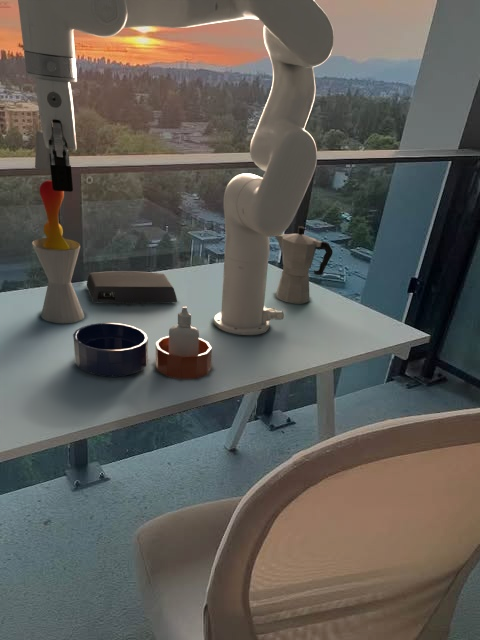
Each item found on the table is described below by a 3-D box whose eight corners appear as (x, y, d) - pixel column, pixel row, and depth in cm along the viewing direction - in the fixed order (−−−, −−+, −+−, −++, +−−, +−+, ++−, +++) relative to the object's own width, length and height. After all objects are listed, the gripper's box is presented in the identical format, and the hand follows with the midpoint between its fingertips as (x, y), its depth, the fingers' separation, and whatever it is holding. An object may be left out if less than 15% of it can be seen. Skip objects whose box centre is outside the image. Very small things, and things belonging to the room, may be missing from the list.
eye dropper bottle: (176, 359, 122) (177, 300, 116) (201, 367, 121) (203, 307, 115) (164, 367, 119) (164, 306, 112) (190, 375, 118) (192, 314, 111)
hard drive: (86, 286, 149) (84, 269, 147) (166, 286, 157) (166, 270, 154) (92, 305, 140) (91, 287, 137) (178, 305, 147) (178, 288, 145)
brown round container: (203, 355, 126) (204, 334, 123) (215, 378, 118) (216, 356, 116) (152, 356, 122) (152, 335, 120) (161, 380, 114) (161, 357, 112)
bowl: (142, 348, 124) (141, 322, 121) (152, 377, 115) (152, 350, 112) (73, 350, 120) (71, 323, 117) (78, 380, 110) (75, 351, 107)
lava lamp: (90, 321, 132) (78, 137, 112) (46, 325, 127) (25, 133, 108) (78, 306, 138) (64, 129, 118) (35, 309, 133) (13, 125, 114)
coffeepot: (263, 296, 160) (269, 224, 150) (275, 287, 168) (282, 218, 158) (319, 310, 158) (329, 237, 147) (329, 300, 165) (340, 230, 155)
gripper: (78, 75, 93) (87, 197, 103) (73, 67, 106) (82, 176, 116) (24, 68, 90) (38, 194, 100) (26, 61, 103) (38, 173, 113)
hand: (62, 184), depth 108 cm, fingers open, 9 cm apart
